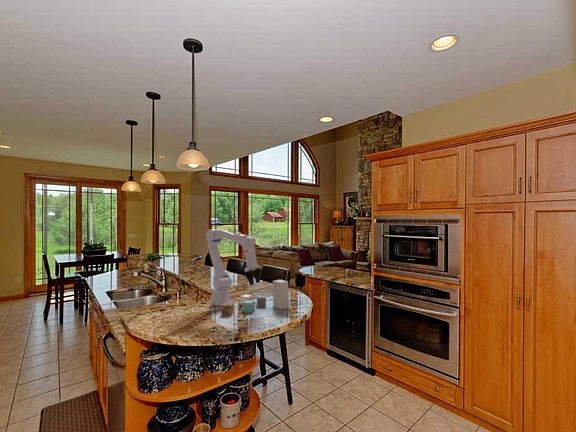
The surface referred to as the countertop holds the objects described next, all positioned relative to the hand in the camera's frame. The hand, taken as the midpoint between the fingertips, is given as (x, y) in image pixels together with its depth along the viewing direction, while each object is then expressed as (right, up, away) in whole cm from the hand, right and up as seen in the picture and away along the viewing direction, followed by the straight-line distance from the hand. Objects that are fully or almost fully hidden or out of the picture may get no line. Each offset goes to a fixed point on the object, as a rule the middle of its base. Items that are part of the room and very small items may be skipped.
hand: (255, 283), depth 161 cm
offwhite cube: (-6, -15, +13) cm, 21 cm away
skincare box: (+14, -15, +7) cm, 21 cm away
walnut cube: (-14, -15, -5) cm, 21 cm away
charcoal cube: (+2, -15, +11) cm, 19 cm away
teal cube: (-3, -15, 0) cm, 15 cm away
